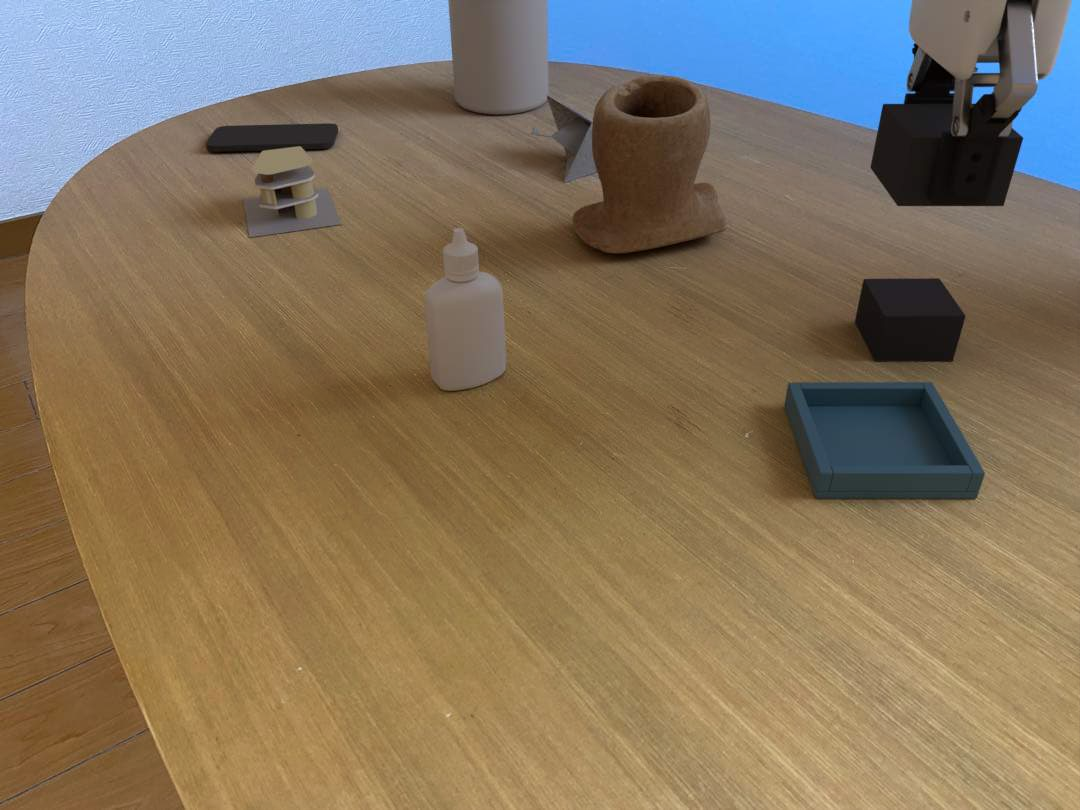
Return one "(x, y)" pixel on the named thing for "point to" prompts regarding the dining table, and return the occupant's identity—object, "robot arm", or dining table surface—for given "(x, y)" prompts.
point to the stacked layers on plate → (287, 195)
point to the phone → (272, 137)
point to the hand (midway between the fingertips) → (937, 176)
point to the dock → (881, 441)
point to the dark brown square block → (927, 153)
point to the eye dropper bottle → (465, 321)
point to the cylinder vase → (499, 54)
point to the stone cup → (650, 167)
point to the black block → (909, 319)
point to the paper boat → (573, 139)
